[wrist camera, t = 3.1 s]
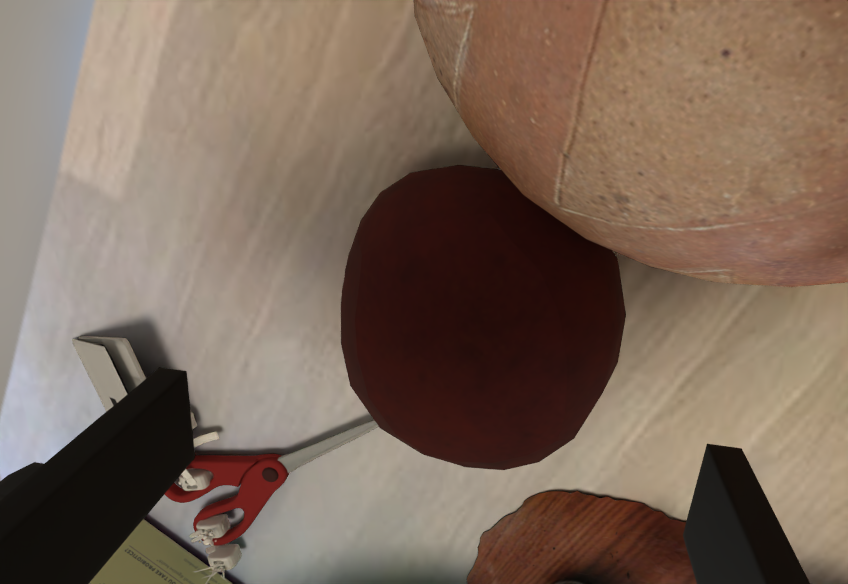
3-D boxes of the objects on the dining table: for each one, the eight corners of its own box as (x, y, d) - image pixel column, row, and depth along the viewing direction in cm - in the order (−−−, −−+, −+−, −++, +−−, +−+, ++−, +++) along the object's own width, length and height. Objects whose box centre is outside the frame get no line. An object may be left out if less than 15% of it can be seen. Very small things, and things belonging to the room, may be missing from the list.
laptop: (204, 454, 32) (170, 478, 30) (150, 440, 35) (118, 461, 34) (147, 327, 30) (108, 347, 28) (96, 326, 33) (58, 343, 32)
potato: (480, 87, 24) (421, 107, 17) (694, 276, 24) (730, 379, 17) (324, 286, 29) (226, 369, 22) (503, 439, 30) (467, 573, 22)
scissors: (158, 467, 34) (147, 479, 33) (360, 367, 29) (354, 377, 29) (217, 540, 35) (208, 553, 34) (419, 455, 31) (416, 467, 30)
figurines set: (152, 377, 32) (117, 405, 29) (201, 372, 31) (170, 400, 29) (218, 566, 35) (192, 606, 33) (263, 564, 35) (240, 605, 32)
